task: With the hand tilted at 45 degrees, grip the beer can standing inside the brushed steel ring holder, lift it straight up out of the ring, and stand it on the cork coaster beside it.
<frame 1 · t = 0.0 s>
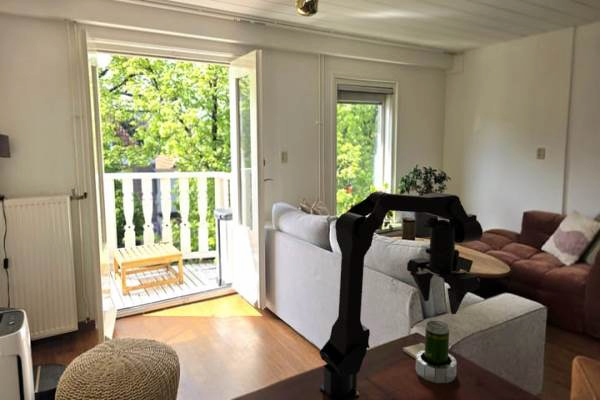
hand: (439, 307, 102), 15 cm above the table, tool pointing down, fingers open, 9 cm apart
beer can: (435, 373, 100), resting in ring holder
cork coaster: (420, 353, 109), on the table
ring holder: (435, 372, 100), on the table
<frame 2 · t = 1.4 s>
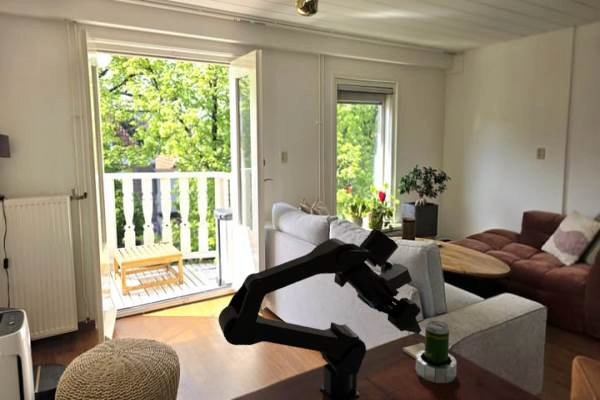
hand: (408, 323, 96), 13 cm above the table, tool tilted 45°, fingers open, 9 cm apart
nothing on the table moved.
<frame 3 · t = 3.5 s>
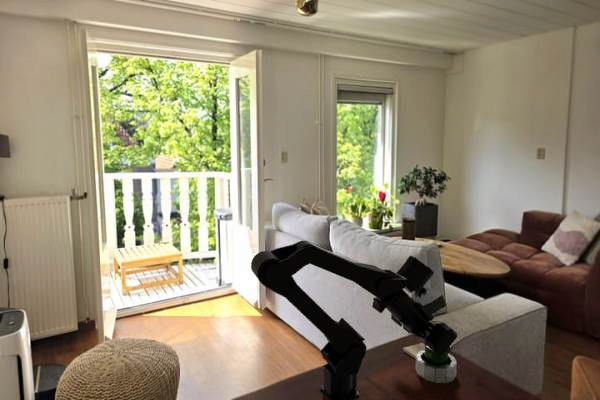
hand: (441, 345, 100), 7 cm above the table, tool tilted 45°, fingers closed on beer can, 5 cm apart
beer can: (435, 373, 100), resting in ring holder, touching gripper
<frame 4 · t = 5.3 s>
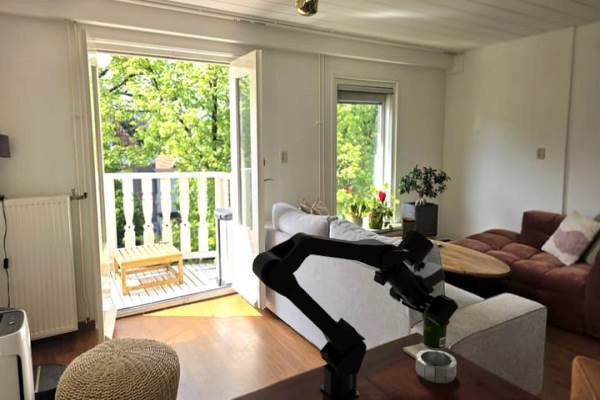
hand: (439, 319, 101), 12 cm above the table, tool tilted 45°, fingers closed on beer can, 5 cm apart
beer can: (434, 346, 101), point 6 cm above the table, touching gripper
when the fingers open (9 cm above the table, at t = 7.0 s): beer can drops 1 cm, resting on cork coaster.
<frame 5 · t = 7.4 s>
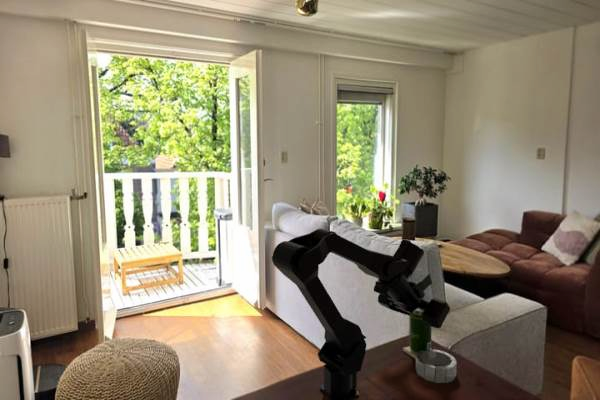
hand: (425, 320, 109), 9 cm above the table, tool tilted 45°, fingers open, 9 cm apart
beer can: (420, 351, 109), point 1 cm above the table, touching cork coaster
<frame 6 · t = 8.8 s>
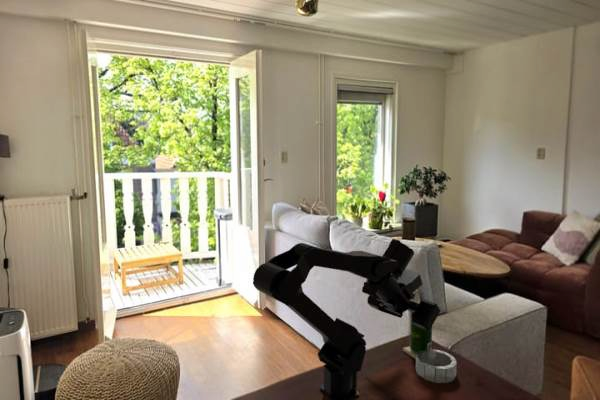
hand: (415, 322, 106), 9 cm above the table, tool tilted 45°, fingers open, 9 cm apart
nothing on the table moved.
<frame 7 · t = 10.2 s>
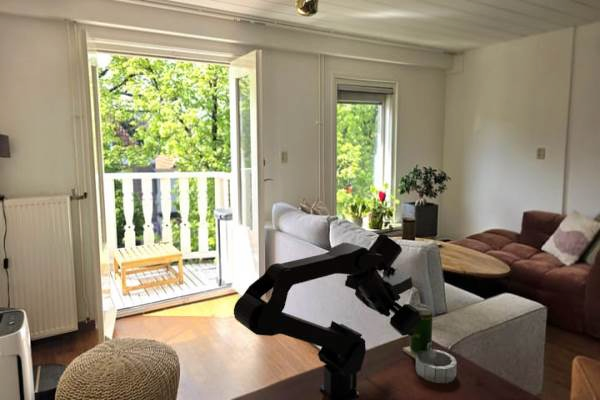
hand: (400, 324, 102), 11 cm above the table, tool tilted 40°, fingers open, 9 cm apart
nothing on the table moved.
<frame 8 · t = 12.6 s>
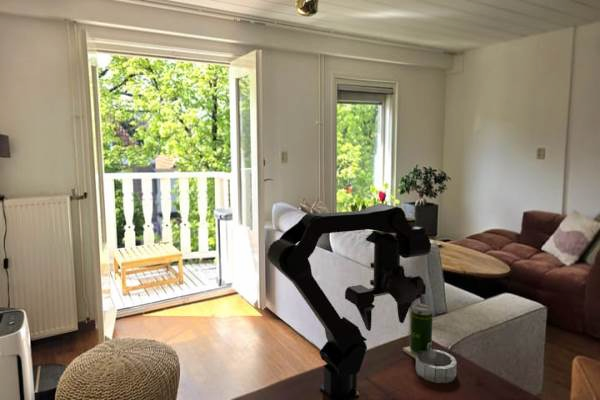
hand: (385, 326, 96), 13 cm above the table, tool pointing down, fingers open, 9 cm apart
nothing on the table moved.
at the end: beer can 0.2 cm off-centre on the cork coaster, point 0.6 cm above the cork coaster's base; beer can tilted 0°; the gripper is holding nothing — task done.
